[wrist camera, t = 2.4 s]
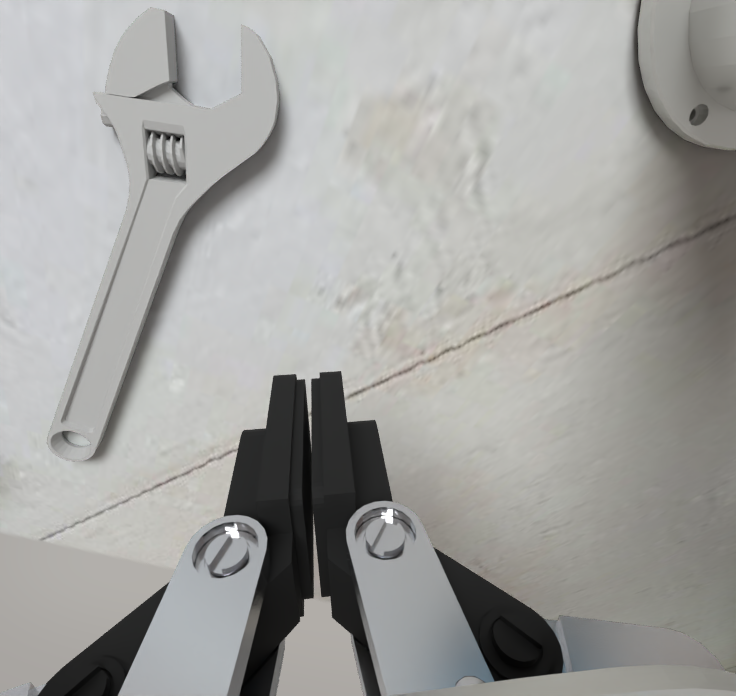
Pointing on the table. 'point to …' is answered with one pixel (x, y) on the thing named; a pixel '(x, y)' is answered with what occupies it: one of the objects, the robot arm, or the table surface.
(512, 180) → the table surface
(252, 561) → the robot arm
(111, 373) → the adjustable wrench
